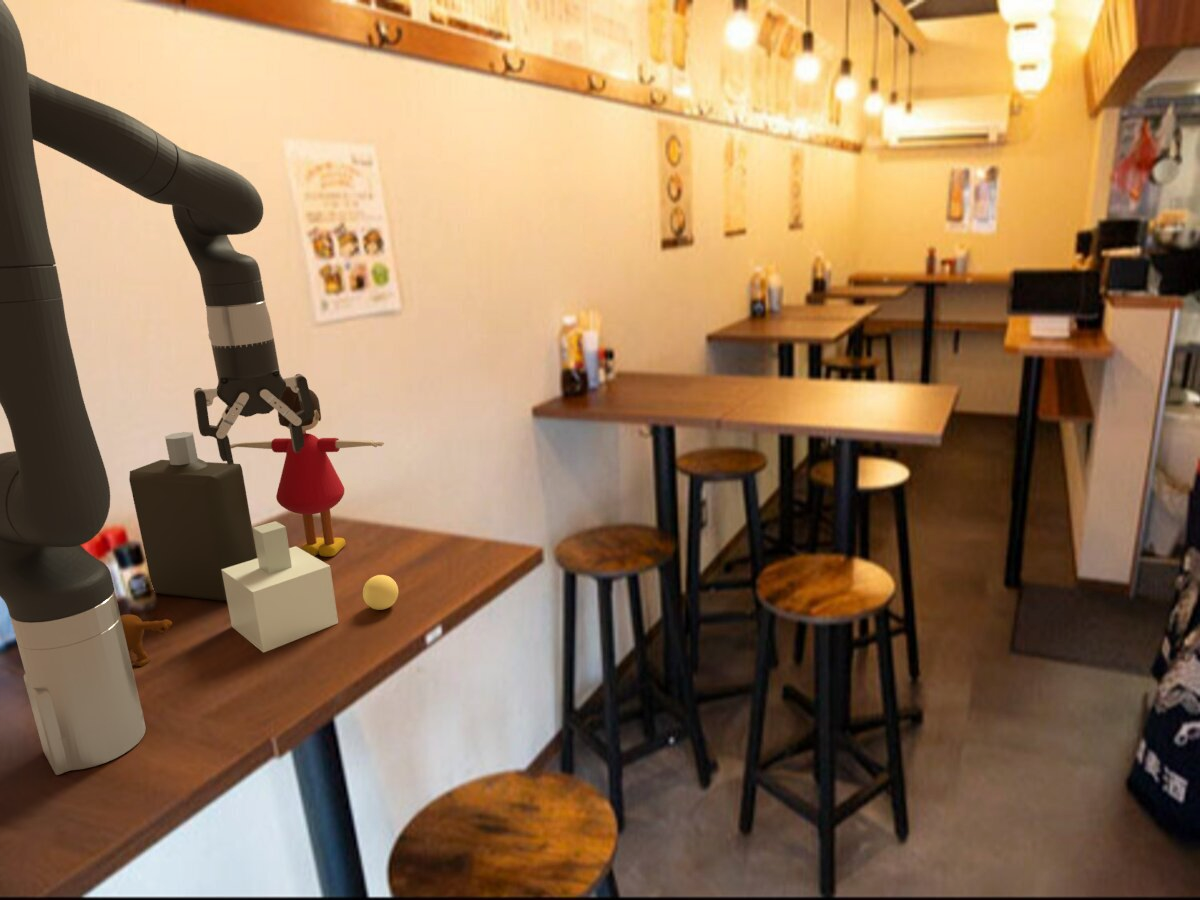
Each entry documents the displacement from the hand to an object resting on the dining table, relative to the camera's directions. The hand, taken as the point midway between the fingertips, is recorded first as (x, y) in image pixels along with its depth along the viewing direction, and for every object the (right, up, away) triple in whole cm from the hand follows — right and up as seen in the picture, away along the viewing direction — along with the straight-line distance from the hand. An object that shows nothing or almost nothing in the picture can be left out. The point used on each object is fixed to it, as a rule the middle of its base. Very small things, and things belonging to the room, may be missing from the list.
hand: (264, 457), depth 108 cm
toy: (-2, -17, +28) cm, 33 cm away
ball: (+14, -20, +8) cm, 25 cm away
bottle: (-16, -21, +17) cm, 31 cm away
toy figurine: (-15, -27, -4) cm, 31 cm away
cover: (+1, -24, +5) cm, 24 cm away
